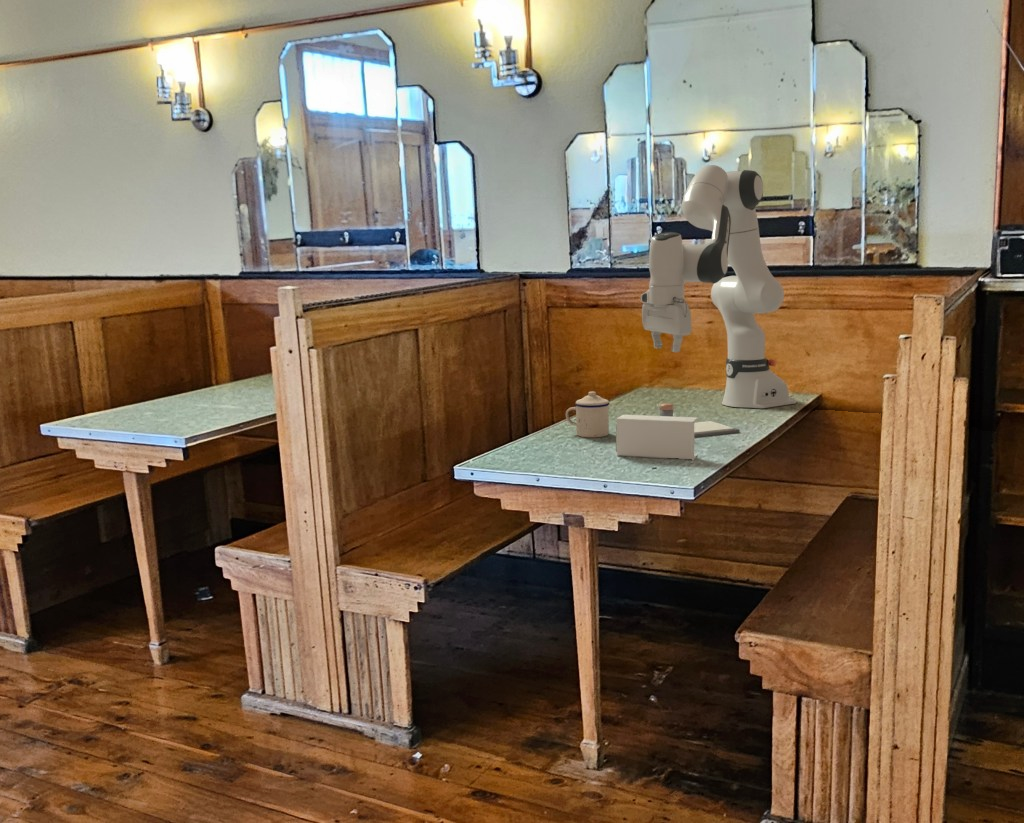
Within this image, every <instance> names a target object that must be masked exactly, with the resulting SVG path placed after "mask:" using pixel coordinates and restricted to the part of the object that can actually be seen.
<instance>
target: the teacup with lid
mask: <svg viewBox="0 0 1024 823" xmlns="http://www.w3.org/2000/svg"><path fill="white" fill-rule="evenodd" d="M587 394H588V395H585V396H584V397H582V398H581V399H580V398H579V399H577V400H576V401H575V403H574V404H575V406H572V407H569V408H568V409H567V410H566V411H565V419H566V421H567V422H568V424H570V425H571V426H575V427H576V435H577V436H578V437H582V438H589V439H590V438H592V439H594V438H604V437H606V436H609V434H610V424H609V422H610V418H609V417H610V415H609V414H610V413H609V412H610V410H609V409H610V407H609V405H610V402H609V400H608V399H606V398H604V397H601V396H600V395H598V394H597V392H596V391H589V392H588V393H587ZM571 411H575V413H576V415H575V416H576V421H572V420H571V418H570V412H571Z"/></svg>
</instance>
